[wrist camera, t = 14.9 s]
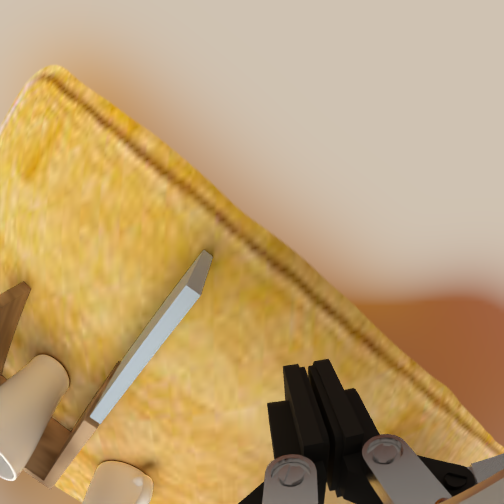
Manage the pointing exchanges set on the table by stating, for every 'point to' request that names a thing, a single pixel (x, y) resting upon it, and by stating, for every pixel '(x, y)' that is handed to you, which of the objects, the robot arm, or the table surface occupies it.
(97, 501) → the mug
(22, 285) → the u-shaped wooden frame
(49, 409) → the drinking glass
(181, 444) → the table surface
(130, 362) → the thin blue-gray plank
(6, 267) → the table surface
